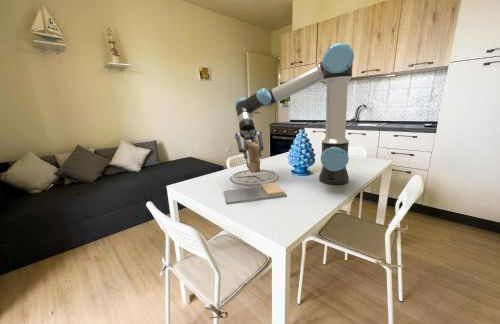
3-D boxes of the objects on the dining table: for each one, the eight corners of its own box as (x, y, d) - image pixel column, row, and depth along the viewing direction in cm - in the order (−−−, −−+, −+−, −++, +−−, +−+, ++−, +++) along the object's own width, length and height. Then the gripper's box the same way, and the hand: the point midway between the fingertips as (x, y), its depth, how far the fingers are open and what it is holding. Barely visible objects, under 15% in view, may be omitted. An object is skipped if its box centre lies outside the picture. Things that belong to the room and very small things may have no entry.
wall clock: (286, 170, 137) (267, 186, 112) (286, 173, 138) (267, 189, 112) (244, 166, 151) (219, 180, 126) (244, 169, 152) (219, 182, 126)
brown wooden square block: (254, 165, 109) (253, 141, 106) (260, 172, 98) (259, 145, 95) (246, 166, 109) (245, 142, 106) (251, 173, 97) (250, 146, 94)
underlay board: (277, 186, 115) (277, 181, 115) (286, 196, 102) (286, 191, 101) (224, 192, 110) (223, 188, 110) (226, 204, 97) (226, 199, 96)
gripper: (261, 127, 115) (271, 166, 103) (229, 129, 112) (235, 169, 100) (263, 118, 109) (274, 157, 97) (229, 119, 106) (236, 161, 94)
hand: (254, 163), depth 99 cm, fingers closed on brown wooden square block, 4 cm apart
